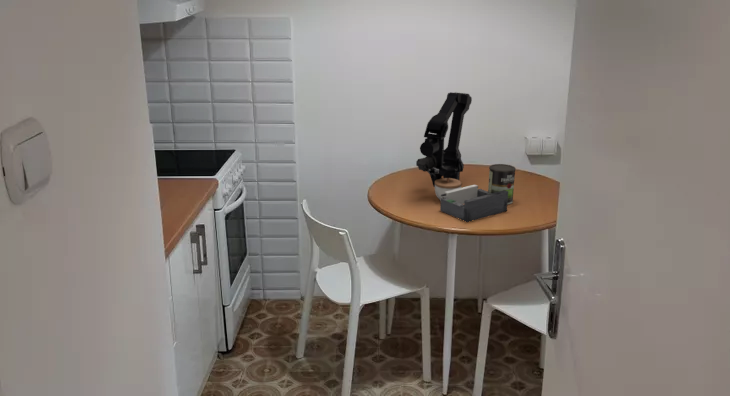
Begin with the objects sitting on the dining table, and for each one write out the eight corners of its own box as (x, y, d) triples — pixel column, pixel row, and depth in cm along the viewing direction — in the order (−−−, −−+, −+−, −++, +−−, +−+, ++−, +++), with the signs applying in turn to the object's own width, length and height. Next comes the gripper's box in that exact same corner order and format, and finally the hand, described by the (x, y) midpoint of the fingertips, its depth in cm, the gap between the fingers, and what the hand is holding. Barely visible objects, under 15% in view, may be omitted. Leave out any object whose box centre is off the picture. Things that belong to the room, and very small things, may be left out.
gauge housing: (479, 200, 286) (480, 181, 283) (506, 211, 274) (508, 191, 272) (440, 210, 274) (440, 191, 272) (466, 222, 263) (467, 202, 260)
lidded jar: (449, 194, 293) (450, 172, 290) (466, 201, 285) (467, 179, 282) (428, 198, 288) (429, 176, 285) (445, 206, 279) (446, 183, 276)
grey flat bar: (473, 198, 285) (474, 184, 283) (477, 200, 284) (477, 185, 282) (439, 207, 275) (440, 192, 273) (442, 208, 274) (443, 194, 272)
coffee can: (518, 202, 284) (521, 169, 279) (497, 206, 279) (500, 172, 274) (502, 195, 292) (504, 162, 288) (481, 199, 288) (484, 165, 283)
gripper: (406, 147, 289) (405, 184, 294) (436, 158, 274) (434, 196, 279) (427, 143, 295) (426, 179, 300) (457, 154, 280) (455, 191, 285)
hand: (434, 186), depth 291 cm, fingers closed
